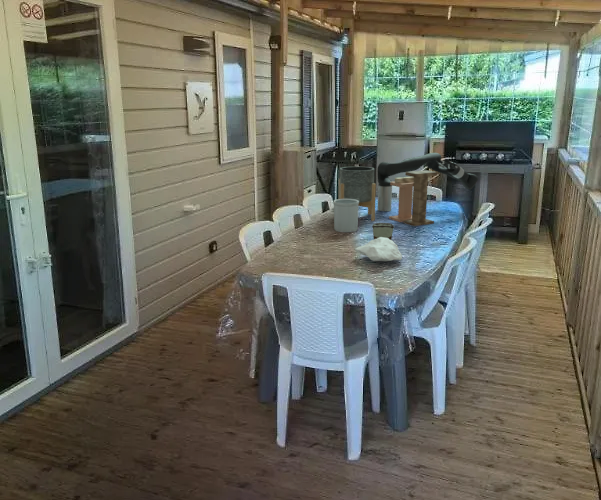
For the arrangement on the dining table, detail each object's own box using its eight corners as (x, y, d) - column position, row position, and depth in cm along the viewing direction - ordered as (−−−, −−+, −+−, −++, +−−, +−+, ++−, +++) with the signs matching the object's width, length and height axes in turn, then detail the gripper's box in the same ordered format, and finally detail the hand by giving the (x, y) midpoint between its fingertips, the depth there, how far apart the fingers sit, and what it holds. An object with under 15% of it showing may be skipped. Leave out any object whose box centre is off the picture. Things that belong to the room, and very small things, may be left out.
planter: (375, 221, 351) (376, 170, 343) (340, 221, 352) (340, 170, 343) (371, 213, 373) (372, 166, 364) (338, 213, 373) (338, 166, 364)
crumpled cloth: (347, 264, 257) (350, 245, 254) (360, 244, 290) (363, 228, 287) (397, 275, 252) (401, 256, 249) (404, 254, 285) (407, 237, 282)
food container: (393, 240, 304) (393, 222, 302) (394, 243, 298) (394, 225, 296) (370, 239, 306) (371, 222, 303) (371, 242, 300) (371, 224, 297)
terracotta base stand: (408, 216, 364) (410, 180, 358) (420, 219, 354) (422, 182, 348) (388, 218, 357) (390, 181, 351) (400, 222, 347) (401, 184, 340)
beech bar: (426, 179, 359) (427, 175, 358) (430, 180, 356) (430, 175, 355) (394, 182, 347) (394, 178, 346) (397, 183, 344) (398, 178, 343)
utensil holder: (356, 233, 320) (357, 203, 316) (331, 232, 323) (331, 202, 319) (359, 227, 334) (360, 199, 330) (335, 226, 337) (335, 198, 332)
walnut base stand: (423, 220, 351) (426, 170, 343) (433, 223, 343) (436, 172, 334) (403, 223, 344) (405, 172, 336) (413, 226, 336) (416, 173, 327)
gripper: (460, 177, 363) (445, 165, 355) (446, 174, 376) (430, 163, 367) (465, 166, 363) (450, 155, 355) (451, 164, 375) (435, 153, 367)
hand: (440, 159), depth 361 cm, fingers open, 8 cm apart
